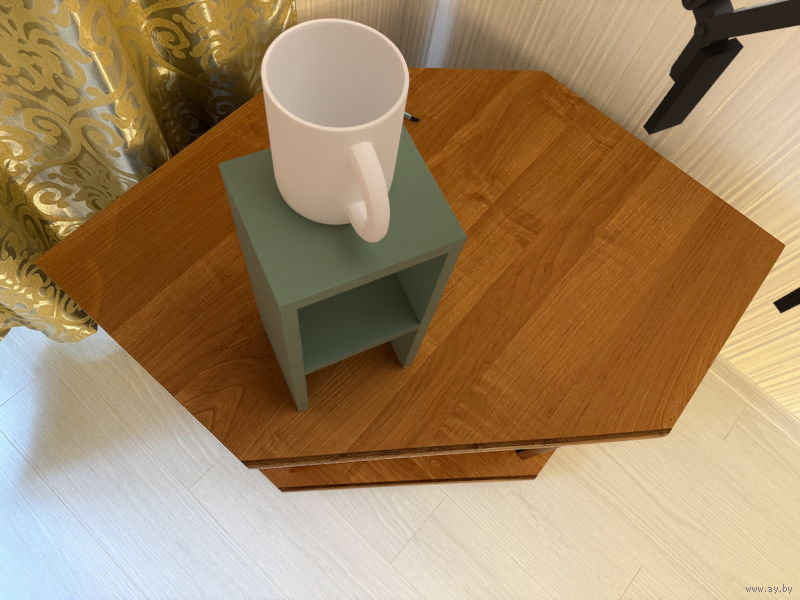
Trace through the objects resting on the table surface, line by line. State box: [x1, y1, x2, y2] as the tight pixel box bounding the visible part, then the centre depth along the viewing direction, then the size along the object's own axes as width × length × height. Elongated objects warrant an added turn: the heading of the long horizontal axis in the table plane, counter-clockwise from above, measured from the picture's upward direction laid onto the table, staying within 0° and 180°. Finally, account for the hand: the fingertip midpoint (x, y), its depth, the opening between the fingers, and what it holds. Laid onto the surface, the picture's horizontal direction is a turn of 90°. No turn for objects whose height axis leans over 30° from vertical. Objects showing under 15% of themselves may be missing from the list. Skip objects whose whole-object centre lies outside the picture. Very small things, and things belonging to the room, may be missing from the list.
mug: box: [260, 18, 410, 242], centre depth 37 cm, size 12×8×10 cm
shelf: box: [218, 122, 468, 413], centre depth 56 cm, size 12×14×30 cm
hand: (723, 207), depth 37 cm, fingers open, 13 cm apart
